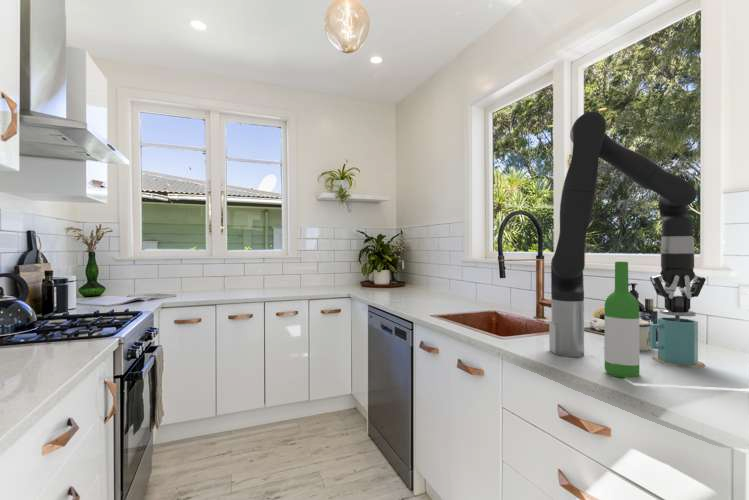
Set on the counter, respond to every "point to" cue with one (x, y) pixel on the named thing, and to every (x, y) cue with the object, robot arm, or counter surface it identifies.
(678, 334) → the press pot
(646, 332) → the teacup with lid
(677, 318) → the knob on metal rod
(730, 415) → the counter surface
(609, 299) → the wine bottle
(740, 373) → the counter surface
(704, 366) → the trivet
